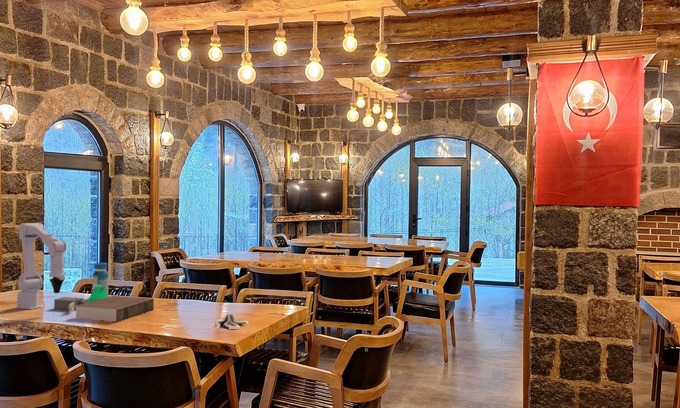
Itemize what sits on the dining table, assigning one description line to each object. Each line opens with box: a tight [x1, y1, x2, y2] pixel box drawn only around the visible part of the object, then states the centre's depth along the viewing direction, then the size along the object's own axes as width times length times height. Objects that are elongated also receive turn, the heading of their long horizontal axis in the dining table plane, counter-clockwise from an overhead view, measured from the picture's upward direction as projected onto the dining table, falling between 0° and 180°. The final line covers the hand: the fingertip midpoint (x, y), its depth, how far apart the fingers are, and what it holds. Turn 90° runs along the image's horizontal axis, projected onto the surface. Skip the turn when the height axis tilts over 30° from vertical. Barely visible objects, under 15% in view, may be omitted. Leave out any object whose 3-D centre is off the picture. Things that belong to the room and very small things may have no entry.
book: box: [75, 295, 155, 323], centre depth 274 cm, size 24×28×7 cm
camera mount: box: [87, 285, 110, 302], centre depth 298 cm, size 12×8×10 cm, turn 146°
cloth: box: [211, 312, 249, 329], centre depth 253 cm, size 22×19×6 cm
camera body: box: [53, 296, 85, 311], centre depth 286 cm, size 13×7×6 cm, turn 77°
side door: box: [68, 302, 76, 315], centre depth 277 cm, size 8×1×4 cm, turn 12°
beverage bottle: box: [92, 262, 110, 295], centre depth 315 cm, size 8×8×20 cm
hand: (56, 292), depth 274 cm, fingers closed
